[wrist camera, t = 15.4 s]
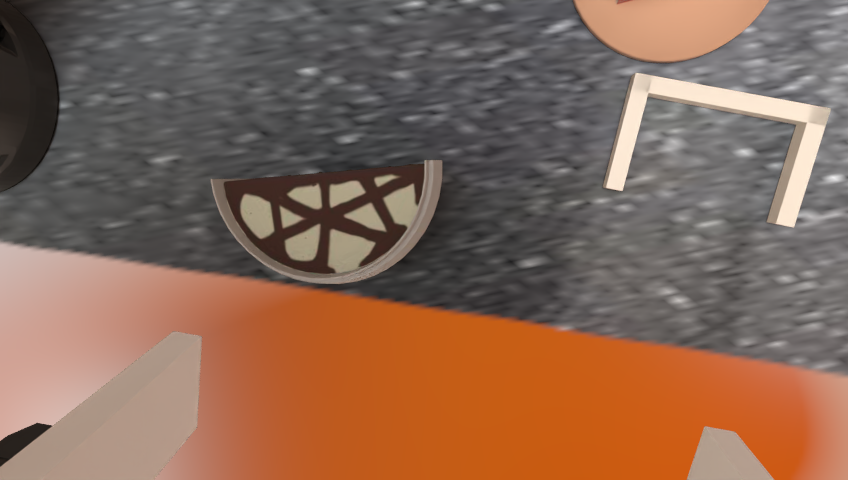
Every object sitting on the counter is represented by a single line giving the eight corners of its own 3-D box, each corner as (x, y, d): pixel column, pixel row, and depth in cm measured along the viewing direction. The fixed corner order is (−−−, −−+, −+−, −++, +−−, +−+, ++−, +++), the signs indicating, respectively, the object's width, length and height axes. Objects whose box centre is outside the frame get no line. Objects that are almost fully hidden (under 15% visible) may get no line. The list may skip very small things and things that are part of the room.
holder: (602, 187, 34) (605, 187, 33) (631, 76, 33) (635, 72, 32) (783, 225, 33) (793, 227, 32) (818, 111, 32) (830, 108, 31)
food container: (290, 267, 38) (214, 297, 28) (280, 180, 38) (200, 180, 28) (463, 256, 36) (447, 285, 26) (456, 164, 36) (437, 158, 26)
